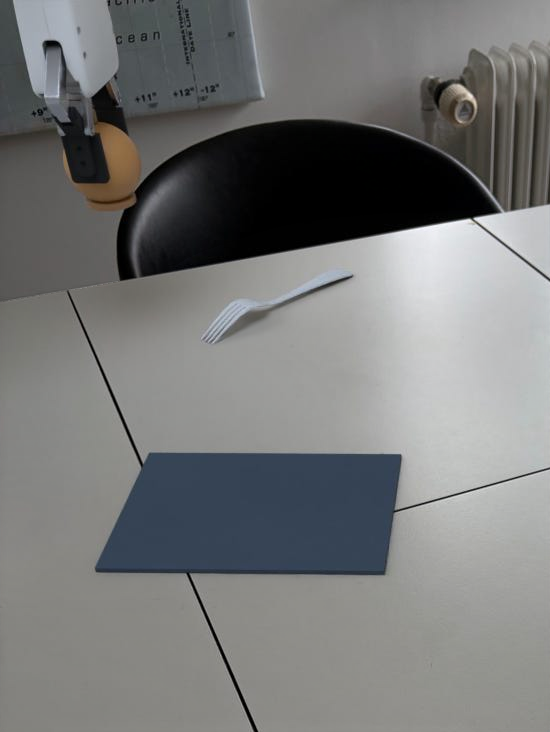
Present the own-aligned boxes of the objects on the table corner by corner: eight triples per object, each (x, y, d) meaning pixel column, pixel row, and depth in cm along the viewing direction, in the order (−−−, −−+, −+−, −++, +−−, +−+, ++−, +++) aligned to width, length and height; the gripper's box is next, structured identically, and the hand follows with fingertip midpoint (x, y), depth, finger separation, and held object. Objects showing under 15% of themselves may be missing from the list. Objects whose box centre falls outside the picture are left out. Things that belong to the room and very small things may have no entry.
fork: (357, 296, 119) (357, 272, 117) (216, 345, 105) (213, 319, 104) (339, 290, 120) (339, 266, 118) (197, 338, 107) (194, 311, 105)
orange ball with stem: (65, 216, 93) (39, 119, 88) (86, 190, 98) (63, 96, 93) (138, 216, 93) (117, 119, 88) (156, 190, 98) (137, 96, 92)
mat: (95, 572, 79) (94, 568, 79) (150, 456, 91) (149, 452, 90) (384, 574, 78) (384, 570, 78) (401, 457, 90) (401, 453, 90)
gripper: (35, -88, 88) (89, 137, 100) (-43, -50, 75) (30, 203, 87) (124, -88, 88) (167, 137, 100) (60, -50, 75) (119, 203, 87)
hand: (103, 166), depth 93 cm, fingers closed on orange ball with stem, 6 cm apart
